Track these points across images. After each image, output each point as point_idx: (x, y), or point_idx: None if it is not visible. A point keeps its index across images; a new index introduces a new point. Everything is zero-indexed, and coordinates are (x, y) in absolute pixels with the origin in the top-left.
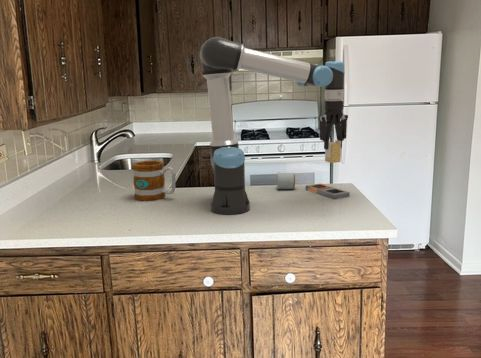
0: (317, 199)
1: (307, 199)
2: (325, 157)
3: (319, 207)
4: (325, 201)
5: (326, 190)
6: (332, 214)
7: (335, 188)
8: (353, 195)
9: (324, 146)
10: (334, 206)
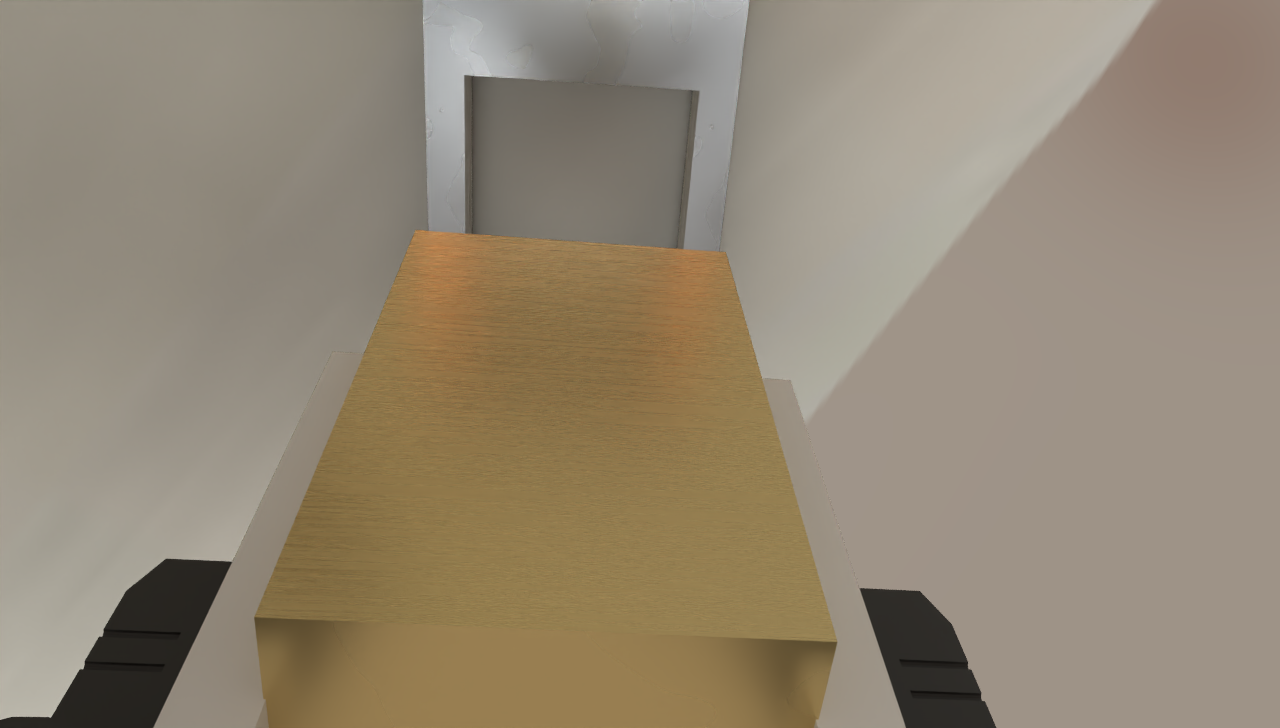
0: (226, 198)
1: (88, 113)
2: (396, 292)
3: (52, 478)
4: (269, 333)
5: (511, 76)
6: (56, 698)
7: (724, 66)
8: (789, 322)
9: (100, 668)
10: (239, 534)
